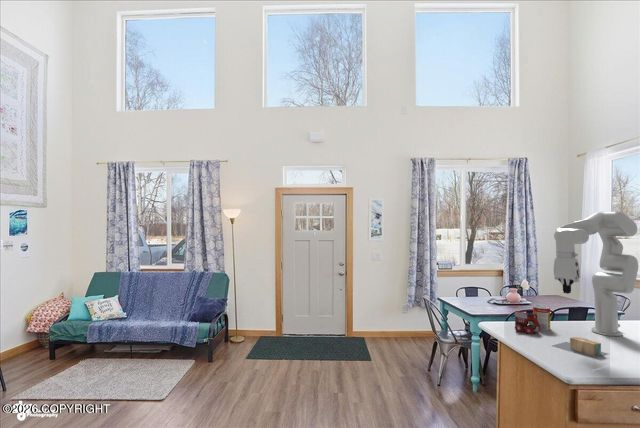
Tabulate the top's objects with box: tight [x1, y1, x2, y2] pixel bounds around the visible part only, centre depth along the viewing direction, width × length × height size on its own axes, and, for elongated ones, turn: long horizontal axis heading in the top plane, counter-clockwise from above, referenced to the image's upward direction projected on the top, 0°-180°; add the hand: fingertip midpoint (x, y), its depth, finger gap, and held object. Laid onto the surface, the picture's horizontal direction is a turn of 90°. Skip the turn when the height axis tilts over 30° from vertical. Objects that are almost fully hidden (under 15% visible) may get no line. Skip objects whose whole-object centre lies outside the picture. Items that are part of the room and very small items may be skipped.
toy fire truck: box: [514, 310, 541, 335], centre depth 191 cm, size 7×12×10 cm, turn 37°
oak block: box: [569, 335, 602, 356], centre depth 162 cm, size 5×5×10 cm
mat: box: [551, 341, 609, 359], centre depth 164 cm, size 12×18×1 cm, turn 27°
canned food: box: [532, 304, 551, 332], centre depth 197 cm, size 8×8×12 cm
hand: (567, 292), depth 175 cm, fingers closed
